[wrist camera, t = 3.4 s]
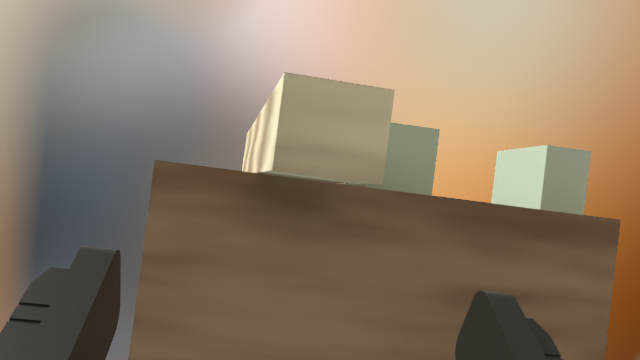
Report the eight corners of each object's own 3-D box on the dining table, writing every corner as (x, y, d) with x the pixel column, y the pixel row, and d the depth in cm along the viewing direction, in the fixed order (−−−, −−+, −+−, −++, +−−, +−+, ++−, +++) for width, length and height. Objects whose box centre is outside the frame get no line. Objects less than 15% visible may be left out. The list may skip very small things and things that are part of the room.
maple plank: (241, 175, 41) (246, 134, 41) (289, 181, 41) (294, 141, 41) (272, 170, 17) (284, 72, 17) (382, 184, 18) (394, 90, 18)
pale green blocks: (344, 187, 35) (351, 130, 35) (528, 210, 36) (534, 156, 36) (365, 188, 29) (373, 120, 29) (583, 216, 30) (590, 151, 30)
